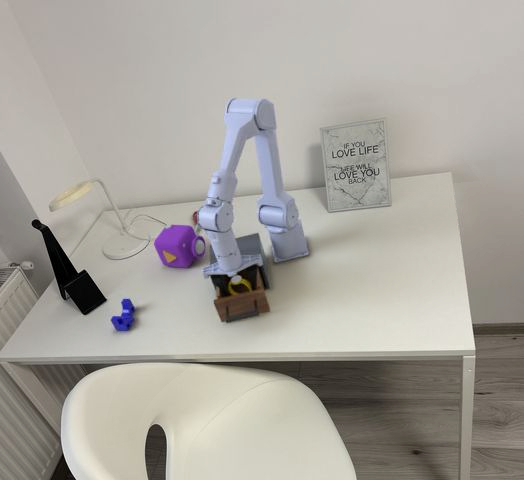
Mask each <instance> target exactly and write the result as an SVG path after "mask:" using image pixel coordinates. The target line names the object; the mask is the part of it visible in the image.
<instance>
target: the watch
mask: <svg viewBox="0 0 524 480" xmlns="http://www.w3.org/2000/svg"><path fill="white" fill-rule="evenodd" d="M239 283H243V284H245V285H246V286H247V287H248V288H249V290H250V291H252V286H251V284H250V282H248V281H247V280H245V279H242V277H241V276H239V275H237V276H234V277H233V278H232V279H231V281H230V282H229V285H228V290H229V292H230V294H231V295H237V294H238V293H236V292H235V291H233V290H232V288H231V284H234V285H237V284H239Z"/></svg>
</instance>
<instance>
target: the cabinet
mask: <svg viewBox="0 0 524 480" xmlns="http://www.w3.org/2000/svg"><path fill="white" fill-rule="evenodd" d="M235 239H236V242H237V245H238V248H239V251H240V254H241V255H259V254H260V255H261V258H262V262H263V265H261V266H258V265H257V267H260V270H261V274H262V277H263V281H264V289H265V291H267V290H270V289H271V285H270V278H269V271H268V262H267V256H266V253H265V250H264V246H263V243H262V240H261V237H260V233H259V232H255V233H251V234H247V235H243V236H238V237H235ZM216 262H218V261H217V258H216V256H215V253H214V250H213V248H212V245H211V243H210V244H209V266H210V265H212V264H214V263H216ZM243 270H247V268H245V269H243ZM243 270H241V271H243ZM223 275H226V274H223ZM209 278H210V280H211V281H212V279H211V276H209ZM212 285H213V287H214V291H215V293H216V294H217V292H216V285H214V284H213V283H212Z"/></svg>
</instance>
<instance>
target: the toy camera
mask: <svg viewBox="0 0 524 480" xmlns="http://www.w3.org/2000/svg"><path fill="white" fill-rule="evenodd" d="M194 230H195V228H194V227H193V226H192V225H187V224H171V223H168V224H166V225H165V226H164V228H163V229H162V230H161V231H160V232H159V234H158V236H156V237H155V239H154V241H153V246H154V248H155V251H156V253H157V255H158V257H159V259H160V261H161V263H162V265H163V266H165V267H173V268H189V267H190V266H191V265H192V264H193V262H194V261H195V259H196V258H197V259H202V258H203V257H204V256H205V253H206V246H207V244H206V240H205V238H204V236H202V235H197V233H195V231H194Z"/></svg>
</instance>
